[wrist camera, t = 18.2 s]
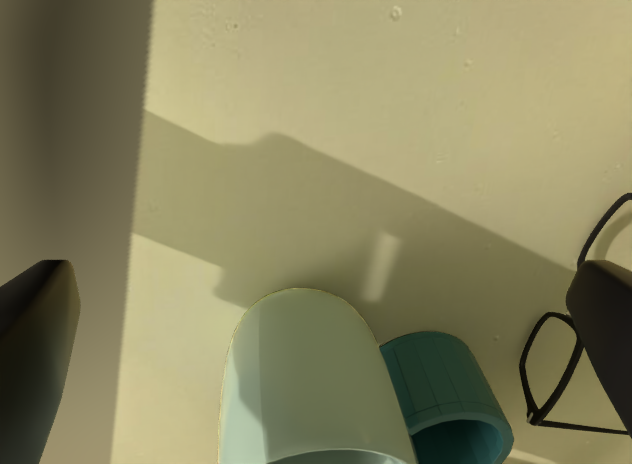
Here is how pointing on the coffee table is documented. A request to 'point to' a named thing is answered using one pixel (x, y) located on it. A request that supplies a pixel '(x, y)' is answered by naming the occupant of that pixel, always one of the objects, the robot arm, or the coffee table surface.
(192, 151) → the coffee table surface
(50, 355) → the robot arm
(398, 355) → the jar
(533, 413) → the eyeglasses
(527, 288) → the coffee table surface
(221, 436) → the cup
